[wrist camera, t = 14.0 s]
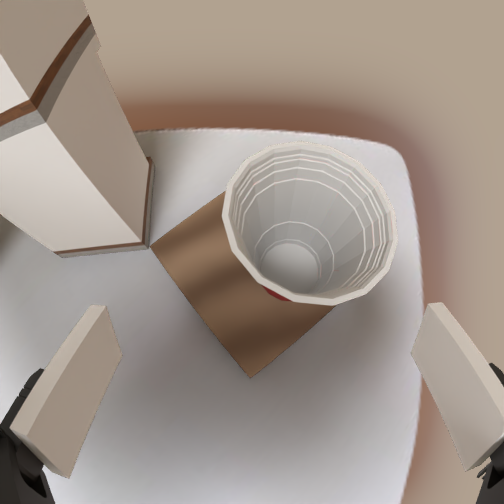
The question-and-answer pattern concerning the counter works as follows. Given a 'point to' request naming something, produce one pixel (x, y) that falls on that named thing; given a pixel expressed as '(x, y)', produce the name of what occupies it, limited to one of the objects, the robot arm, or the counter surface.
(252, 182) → the plastic cup
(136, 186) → the white dispenser
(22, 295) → the counter surface
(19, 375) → the counter surface
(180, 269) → the walnut board
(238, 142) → the counter surface
